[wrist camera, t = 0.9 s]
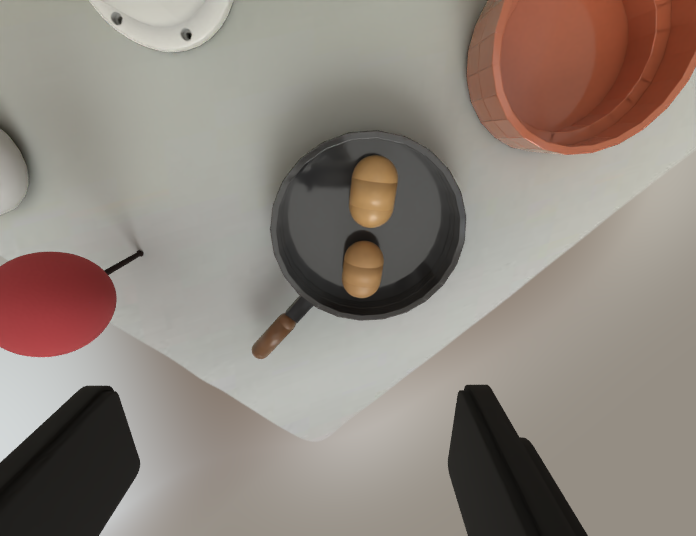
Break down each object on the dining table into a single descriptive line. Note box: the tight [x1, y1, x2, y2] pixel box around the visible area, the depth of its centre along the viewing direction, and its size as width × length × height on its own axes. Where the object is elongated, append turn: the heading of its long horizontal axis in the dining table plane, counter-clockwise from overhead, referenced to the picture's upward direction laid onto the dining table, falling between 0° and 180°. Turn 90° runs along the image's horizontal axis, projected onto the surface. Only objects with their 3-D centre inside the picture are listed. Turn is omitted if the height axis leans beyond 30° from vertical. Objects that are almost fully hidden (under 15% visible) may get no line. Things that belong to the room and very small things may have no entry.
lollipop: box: [0, 250, 143, 357], centre depth 28 cm, size 8×8×15 cm
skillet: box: [270, 131, 466, 321], centre depth 32 cm, size 18×18×4 cm
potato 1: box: [349, 155, 398, 228], centre depth 30 cm, size 7×4×4 cm, turn 174°
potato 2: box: [342, 241, 384, 298], centre depth 33 cm, size 6×4×4 cm, turn 174°
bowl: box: [467, 0, 696, 155], centre depth 26 cm, size 15×15×6 cm
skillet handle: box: [252, 296, 313, 359], centre depth 35 cm, size 10×2×2 cm, turn 139°
